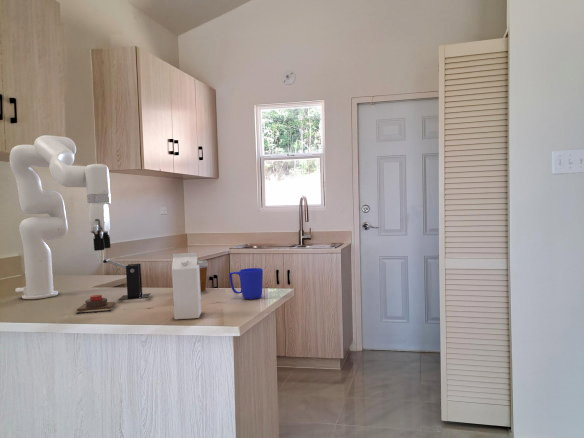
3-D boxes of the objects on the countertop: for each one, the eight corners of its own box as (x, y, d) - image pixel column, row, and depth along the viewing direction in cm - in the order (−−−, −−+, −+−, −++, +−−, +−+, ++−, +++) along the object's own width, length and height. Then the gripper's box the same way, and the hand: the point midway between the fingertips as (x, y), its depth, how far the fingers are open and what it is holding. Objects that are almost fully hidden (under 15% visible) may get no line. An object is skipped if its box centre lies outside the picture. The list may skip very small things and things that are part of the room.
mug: (234, 295, 169) (233, 268, 169) (266, 295, 167) (265, 267, 167) (226, 300, 161) (225, 271, 161) (260, 300, 159) (259, 271, 158)
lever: (102, 264, 166) (104, 257, 166) (105, 262, 171) (107, 256, 171) (135, 275, 168) (137, 268, 168) (137, 273, 173) (139, 266, 173)
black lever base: (118, 302, 166) (116, 267, 165) (123, 298, 174) (121, 264, 173) (147, 300, 167) (145, 265, 167) (151, 296, 175) (149, 262, 175)
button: (89, 302, 153) (88, 297, 153) (92, 300, 157) (91, 295, 157) (100, 301, 154) (100, 296, 154) (103, 299, 157) (102, 294, 157)
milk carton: (178, 314, 144) (175, 252, 143) (201, 312, 144) (198, 251, 144) (174, 320, 137) (170, 255, 136) (199, 318, 137) (195, 254, 136)
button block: (77, 314, 150) (76, 303, 150) (84, 308, 158) (83, 298, 158) (109, 311, 152) (109, 301, 152) (115, 306, 160) (114, 296, 160)
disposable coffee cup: (211, 293, 175) (209, 262, 175) (185, 296, 172) (183, 264, 172) (207, 289, 184) (206, 259, 184) (183, 292, 181) (181, 261, 181)
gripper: (93, 201, 170) (97, 248, 170) (80, 200, 153) (84, 252, 153) (115, 200, 171) (118, 246, 171) (104, 198, 154) (108, 250, 154)
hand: (102, 249), depth 162 cm, fingers open, 9 cm apart
